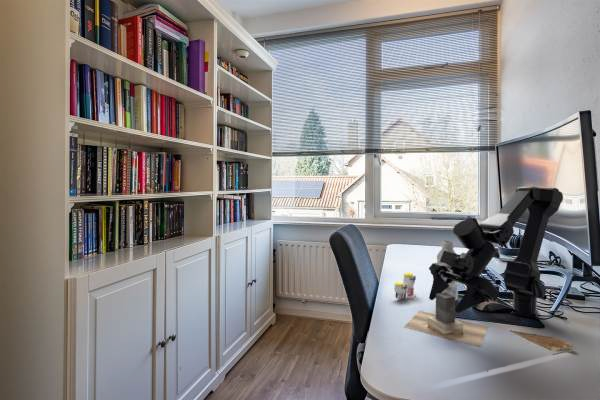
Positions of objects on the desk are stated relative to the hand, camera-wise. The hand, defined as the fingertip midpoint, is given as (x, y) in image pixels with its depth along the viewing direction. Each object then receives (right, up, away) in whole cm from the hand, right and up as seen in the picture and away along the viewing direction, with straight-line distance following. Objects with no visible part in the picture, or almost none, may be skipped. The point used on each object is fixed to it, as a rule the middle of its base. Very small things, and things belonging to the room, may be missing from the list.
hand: (442, 305), depth 83 cm
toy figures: (-1, -6, +26) cm, 27 cm away
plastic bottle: (+12, -6, +23) cm, 26 cm away
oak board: (+2, -7, +2) cm, 8 cm away
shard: (+21, -8, -7) cm, 23 cm away
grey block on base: (+1, -6, 0) cm, 6 cm away
